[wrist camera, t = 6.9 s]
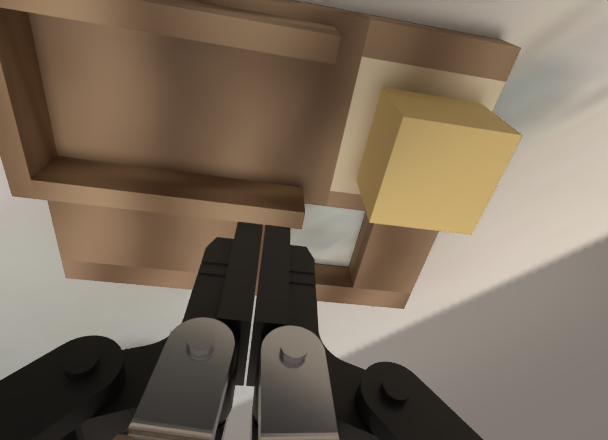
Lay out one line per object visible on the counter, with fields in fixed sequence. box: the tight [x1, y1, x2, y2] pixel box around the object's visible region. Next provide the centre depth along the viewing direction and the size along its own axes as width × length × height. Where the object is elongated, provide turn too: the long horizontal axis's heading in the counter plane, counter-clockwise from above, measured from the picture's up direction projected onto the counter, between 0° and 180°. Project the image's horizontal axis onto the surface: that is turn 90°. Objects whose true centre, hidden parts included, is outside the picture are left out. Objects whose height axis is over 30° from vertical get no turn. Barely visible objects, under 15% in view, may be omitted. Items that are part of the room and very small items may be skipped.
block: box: [356, 87, 523, 235], centre depth 18 cm, size 5×5×4 cm
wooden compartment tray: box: [28, 0, 521, 309], centre depth 22 cm, size 22×17×2 cm
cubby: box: [0, 0, 341, 229], centre depth 17 cm, size 14×9×2 cm, turn 80°
